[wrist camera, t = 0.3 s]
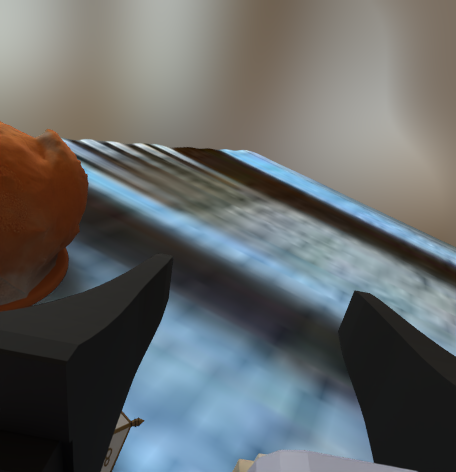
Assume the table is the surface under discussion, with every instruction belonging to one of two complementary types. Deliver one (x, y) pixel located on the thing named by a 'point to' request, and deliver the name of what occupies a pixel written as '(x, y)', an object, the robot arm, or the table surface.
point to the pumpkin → (36, 214)
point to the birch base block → (243, 465)
